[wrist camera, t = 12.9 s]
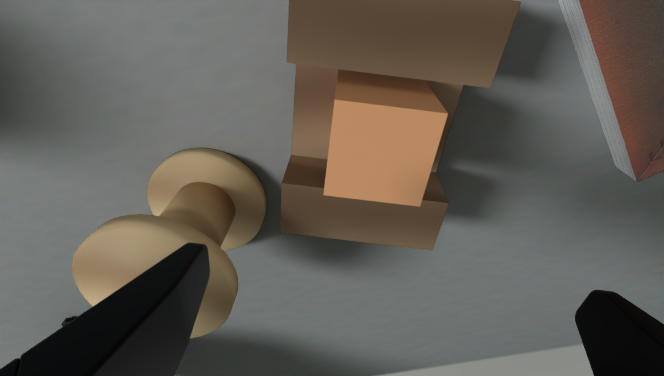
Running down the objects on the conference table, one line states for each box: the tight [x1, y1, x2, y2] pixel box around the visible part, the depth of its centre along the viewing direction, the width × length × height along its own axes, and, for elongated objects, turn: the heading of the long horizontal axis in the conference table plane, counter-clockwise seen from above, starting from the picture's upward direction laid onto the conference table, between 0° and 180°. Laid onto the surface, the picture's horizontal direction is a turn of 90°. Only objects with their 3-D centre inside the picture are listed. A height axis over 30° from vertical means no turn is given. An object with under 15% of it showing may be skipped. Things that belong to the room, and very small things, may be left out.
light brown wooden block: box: [323, 69, 448, 207], centre depth 15 cm, size 4×4×5 cm
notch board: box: [280, 0, 521, 250], centre depth 17 cm, size 12×8×4 cm
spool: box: [72, 148, 267, 338], centre depth 19 cm, size 7×7×8 cm
